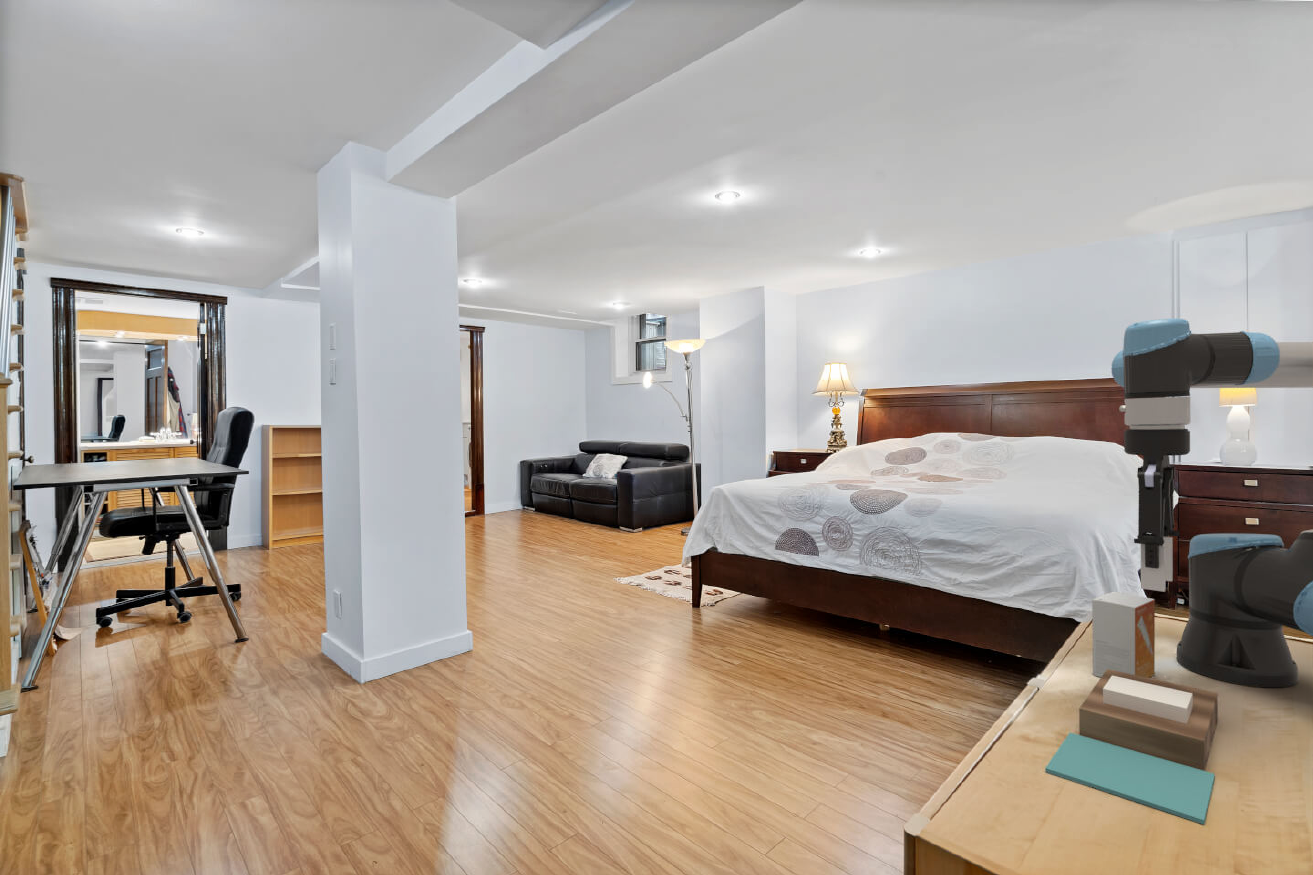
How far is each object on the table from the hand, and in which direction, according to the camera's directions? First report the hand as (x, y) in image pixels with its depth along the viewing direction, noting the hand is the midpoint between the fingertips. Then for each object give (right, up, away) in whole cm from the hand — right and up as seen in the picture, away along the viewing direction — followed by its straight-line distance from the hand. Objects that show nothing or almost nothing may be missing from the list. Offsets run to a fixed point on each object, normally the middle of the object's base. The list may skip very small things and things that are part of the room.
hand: (1157, 584), depth 93 cm
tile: (-6, -15, -6) cm, 17 cm away
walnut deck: (-4, -19, -4) cm, 20 cm away
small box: (+5, -19, +13) cm, 23 cm away
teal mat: (-15, -20, -15) cm, 29 cm away
